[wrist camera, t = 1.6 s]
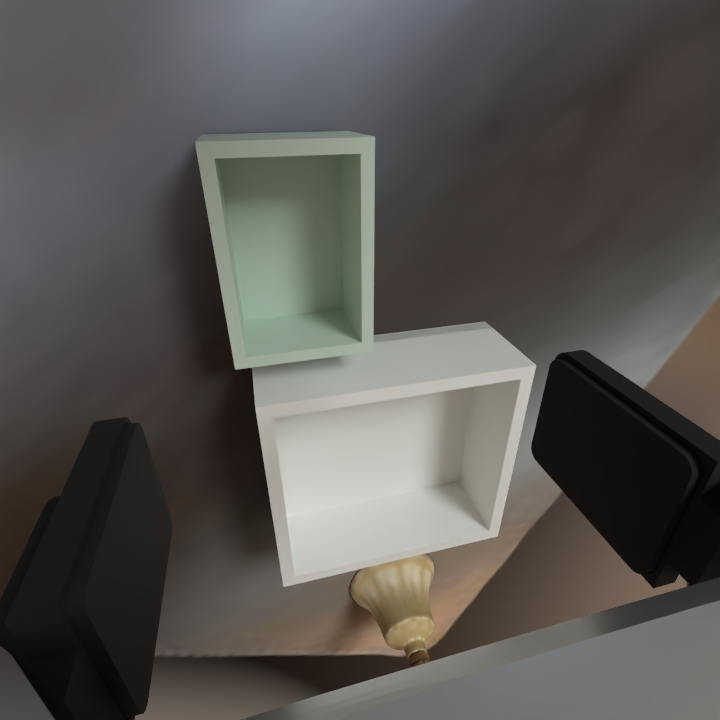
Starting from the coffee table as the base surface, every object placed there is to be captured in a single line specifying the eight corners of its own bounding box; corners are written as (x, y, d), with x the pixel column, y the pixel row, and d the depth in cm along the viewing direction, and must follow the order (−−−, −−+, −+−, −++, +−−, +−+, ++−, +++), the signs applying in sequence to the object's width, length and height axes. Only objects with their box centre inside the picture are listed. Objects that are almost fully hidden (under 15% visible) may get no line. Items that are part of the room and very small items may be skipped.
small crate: (201, 134, 21) (194, 141, 16) (347, 130, 22) (374, 136, 18) (234, 326, 26) (235, 369, 22) (351, 313, 27) (373, 351, 23)
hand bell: (337, 606, 42) (387, 840, 29) (369, 546, 39) (441, 779, 25) (412, 605, 45) (488, 815, 32) (446, 550, 42) (547, 758, 29)
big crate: (250, 350, 27) (255, 407, 22) (484, 321, 30) (536, 365, 25) (275, 515, 34) (283, 586, 29) (461, 478, 37) (497, 536, 32)
